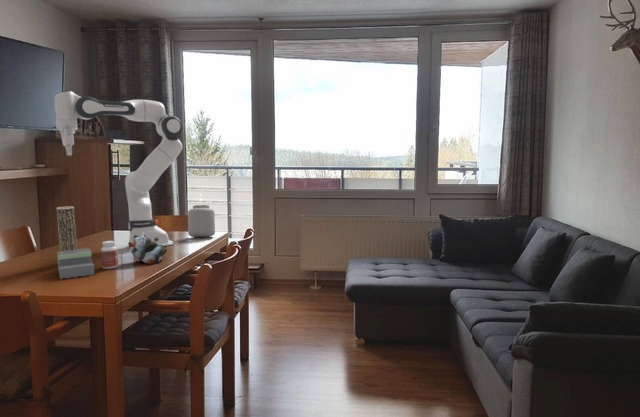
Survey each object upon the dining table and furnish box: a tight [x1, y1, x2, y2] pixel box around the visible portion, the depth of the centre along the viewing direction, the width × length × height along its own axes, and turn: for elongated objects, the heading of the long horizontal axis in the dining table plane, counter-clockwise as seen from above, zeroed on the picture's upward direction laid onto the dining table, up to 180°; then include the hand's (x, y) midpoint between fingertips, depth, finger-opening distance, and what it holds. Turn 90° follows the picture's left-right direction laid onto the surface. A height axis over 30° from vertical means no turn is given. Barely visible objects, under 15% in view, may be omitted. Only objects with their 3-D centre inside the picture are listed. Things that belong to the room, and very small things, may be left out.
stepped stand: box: [56, 247, 96, 280], centre depth 193 cm, size 12×17×8 cm
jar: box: [187, 194, 216, 238], centre depth 270 cm, size 19×15×25 cm
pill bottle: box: [100, 240, 119, 270], centre depth 201 cm, size 6×6×11 cm
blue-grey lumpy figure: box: [127, 235, 168, 265], centre depth 210 cm, size 15×12×14 cm
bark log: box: [56, 205, 78, 251], centre depth 211 cm, size 7×7×25 cm
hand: (69, 155), depth 227 cm, fingers open, 8 cm apart
